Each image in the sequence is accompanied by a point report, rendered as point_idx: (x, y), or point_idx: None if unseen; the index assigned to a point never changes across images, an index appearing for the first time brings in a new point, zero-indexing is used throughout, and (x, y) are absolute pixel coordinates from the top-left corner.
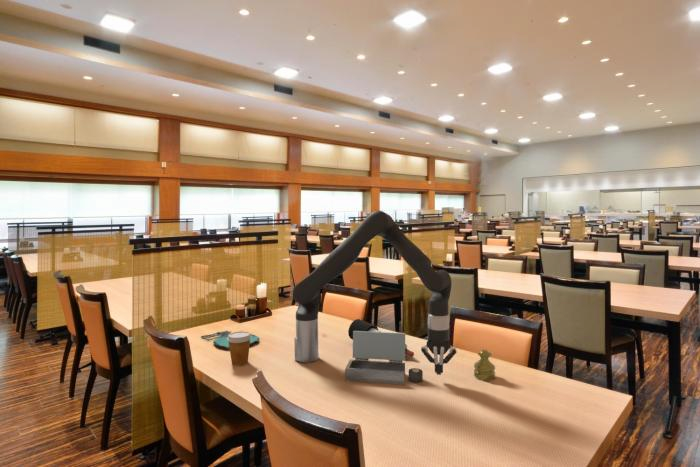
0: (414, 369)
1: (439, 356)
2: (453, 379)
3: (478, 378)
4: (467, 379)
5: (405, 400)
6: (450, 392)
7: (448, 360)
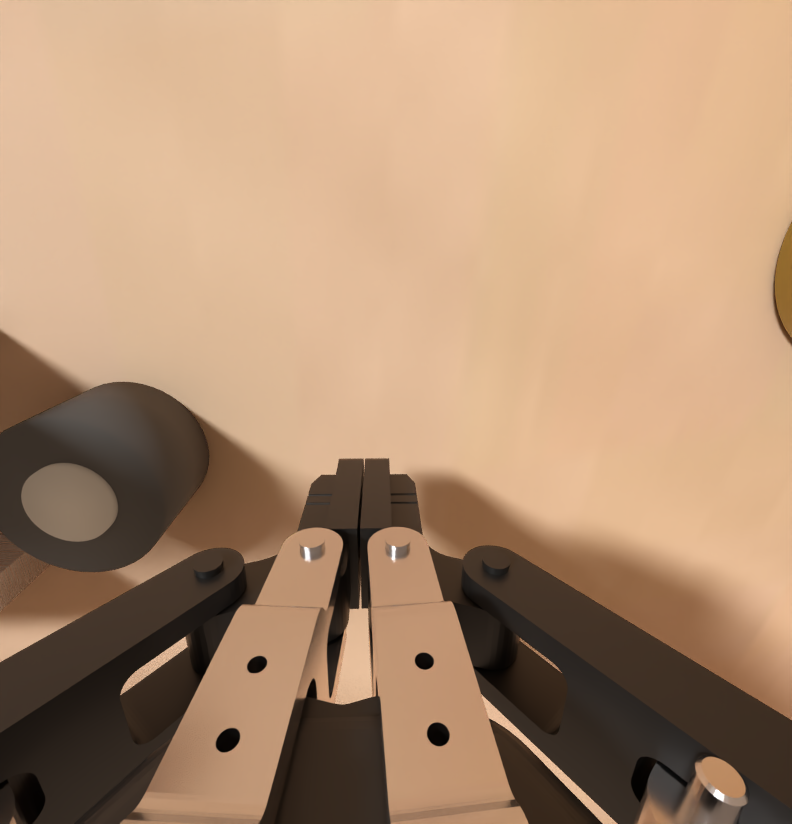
0: (46, 487)
1: (371, 611)
2: (520, 374)
3: (789, 333)
4: (665, 352)
5: None
6: None
7: (528, 682)
